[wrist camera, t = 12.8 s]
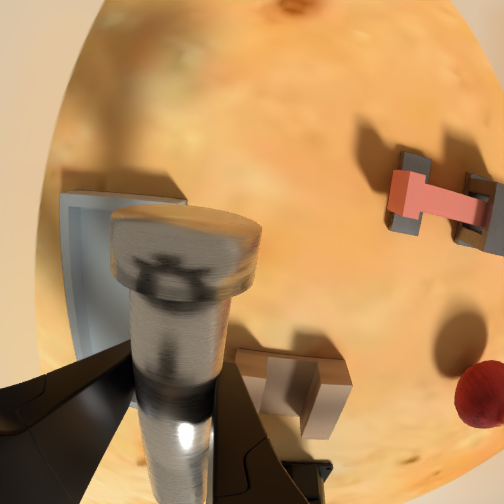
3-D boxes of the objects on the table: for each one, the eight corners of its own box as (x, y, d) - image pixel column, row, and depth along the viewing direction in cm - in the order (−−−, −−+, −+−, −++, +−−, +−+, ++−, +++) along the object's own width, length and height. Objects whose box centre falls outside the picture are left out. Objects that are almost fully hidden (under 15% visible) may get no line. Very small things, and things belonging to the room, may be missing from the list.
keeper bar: (539, 248, 16) (557, 257, 14) (386, 209, 17) (402, 216, 14) (545, 220, 15) (564, 227, 13) (393, 169, 16) (410, 171, 14)
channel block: (324, 413, 22) (328, 439, 20) (230, 404, 23) (225, 430, 20) (344, 360, 21) (352, 385, 18) (237, 348, 21) (232, 374, 18)
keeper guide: (481, 248, 18) (510, 263, 14) (388, 229, 18) (410, 243, 14) (494, 182, 16) (525, 188, 13) (400, 151, 16) (426, 150, 13)
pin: (221, 471, 12) (210, 527, 8) (153, 456, 12) (133, 507, 9) (264, 216, 8) (258, 250, 5) (147, 199, 8) (80, 221, 5)
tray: (181, 403, 23) (175, 418, 21) (94, 378, 23) (84, 391, 22) (187, 199, 18) (177, 203, 16) (76, 189, 19) (59, 193, 17)
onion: (464, 397, 22) (496, 452, 14) (430, 388, 21) (464, 451, 14) (499, 351, 20) (542, 400, 12) (470, 335, 20) (519, 392, 12)
